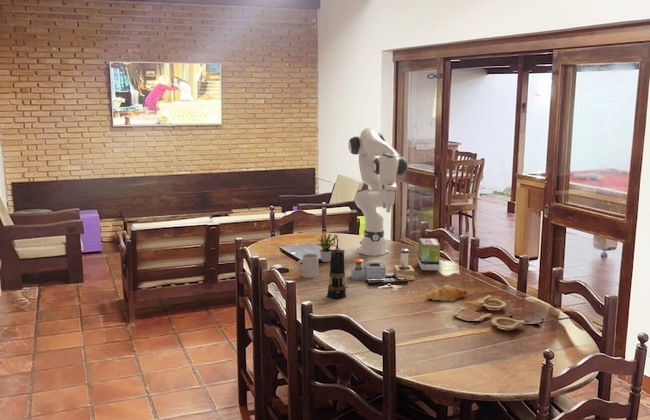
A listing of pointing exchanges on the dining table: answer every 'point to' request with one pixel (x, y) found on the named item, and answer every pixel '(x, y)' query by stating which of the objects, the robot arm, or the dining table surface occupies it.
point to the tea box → (429, 254)
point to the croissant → (446, 293)
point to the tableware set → (494, 320)
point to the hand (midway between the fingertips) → (386, 210)
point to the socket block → (374, 270)
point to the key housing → (358, 274)
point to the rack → (404, 272)
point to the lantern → (337, 274)
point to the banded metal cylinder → (404, 259)
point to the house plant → (325, 248)
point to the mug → (309, 266)
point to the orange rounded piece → (358, 263)
